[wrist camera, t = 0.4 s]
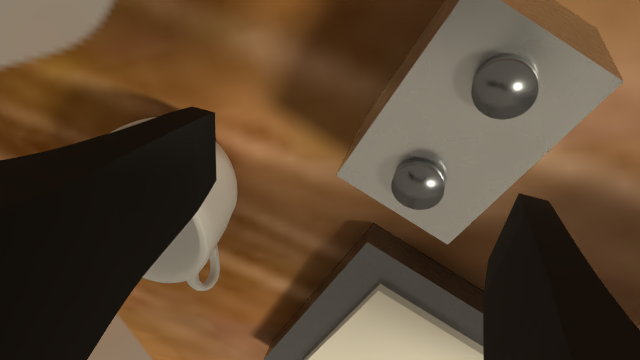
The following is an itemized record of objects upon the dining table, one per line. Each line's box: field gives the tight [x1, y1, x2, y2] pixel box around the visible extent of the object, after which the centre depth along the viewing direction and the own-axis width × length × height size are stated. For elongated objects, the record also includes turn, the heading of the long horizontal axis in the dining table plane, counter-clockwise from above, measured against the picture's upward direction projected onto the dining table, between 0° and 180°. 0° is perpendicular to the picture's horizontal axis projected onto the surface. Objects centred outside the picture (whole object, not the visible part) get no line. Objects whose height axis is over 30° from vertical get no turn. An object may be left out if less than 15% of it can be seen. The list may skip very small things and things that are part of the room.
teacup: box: [108, 117, 237, 291], centre depth 25 cm, size 10×8×5 cm
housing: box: [336, 0, 624, 245], centre depth 17 cm, size 5×8×6 cm, turn 152°
